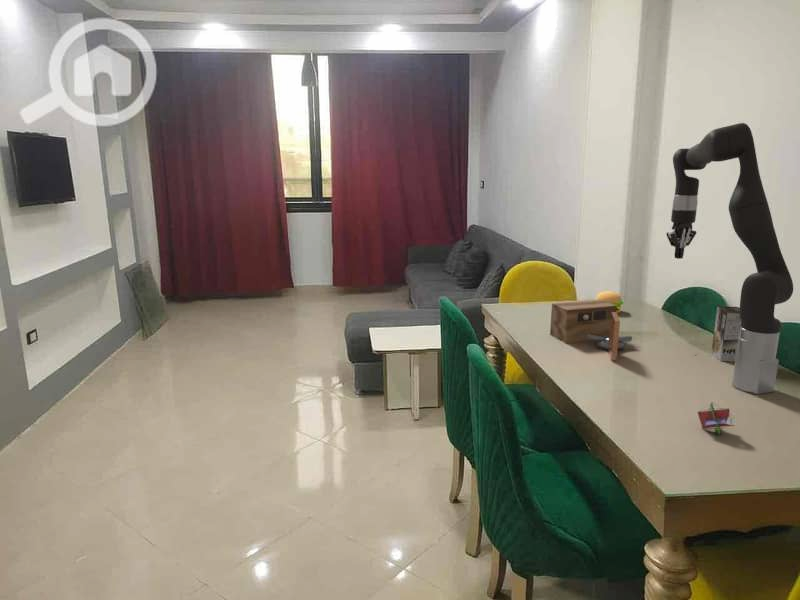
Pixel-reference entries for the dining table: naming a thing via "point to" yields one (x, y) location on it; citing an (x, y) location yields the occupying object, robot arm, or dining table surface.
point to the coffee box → (726, 333)
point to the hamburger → (611, 299)
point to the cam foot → (611, 338)
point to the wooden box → (580, 319)
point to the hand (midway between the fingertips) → (678, 258)
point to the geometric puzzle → (716, 418)
